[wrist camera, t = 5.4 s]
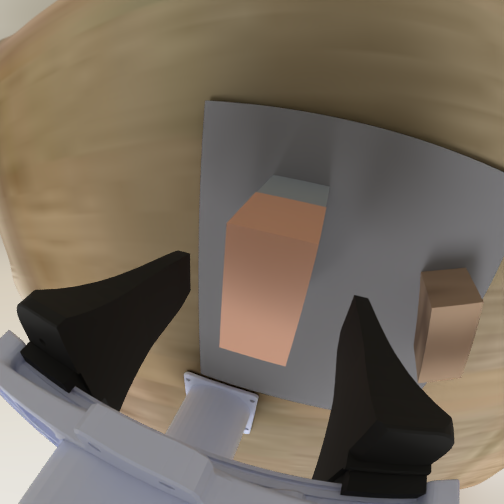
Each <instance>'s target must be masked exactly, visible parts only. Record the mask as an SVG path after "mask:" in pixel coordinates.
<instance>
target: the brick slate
mask: <svg viewBox="0 0 504 504" xmlns="http://www.w3.org/2000/svg"><path fill="white" fill-rule="evenodd" d="M329 188H330V187H329V186H325V185H320V184H316V183H311V182H306V181H302V180H297V179H292V178H287V177H282V176H277V175H273V176H272V177H271V178H270V179H269V180H268V181H267V182H266V183H265V184H264V185H263V186H262V187H261V188H260V189H259V190H258V191H257V192H259V193H264V194H269V195H273V196H278V197H283V198H288V199H292V200H297V201H301V202H306V203H310V204H314V205H319V206H323V207H326V204H327V199H328V194H329Z"/></svg>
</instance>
